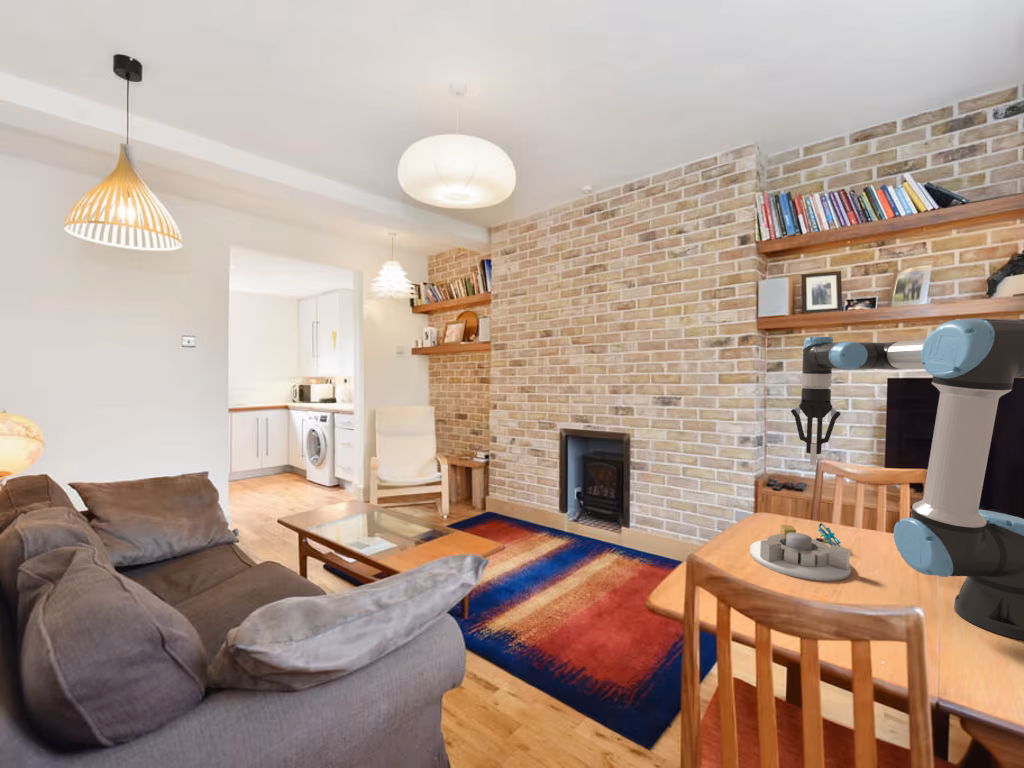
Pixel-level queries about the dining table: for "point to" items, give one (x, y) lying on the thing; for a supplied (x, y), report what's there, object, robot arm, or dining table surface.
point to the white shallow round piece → (799, 571)
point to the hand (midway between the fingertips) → (813, 464)
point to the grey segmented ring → (803, 551)
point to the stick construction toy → (827, 536)
